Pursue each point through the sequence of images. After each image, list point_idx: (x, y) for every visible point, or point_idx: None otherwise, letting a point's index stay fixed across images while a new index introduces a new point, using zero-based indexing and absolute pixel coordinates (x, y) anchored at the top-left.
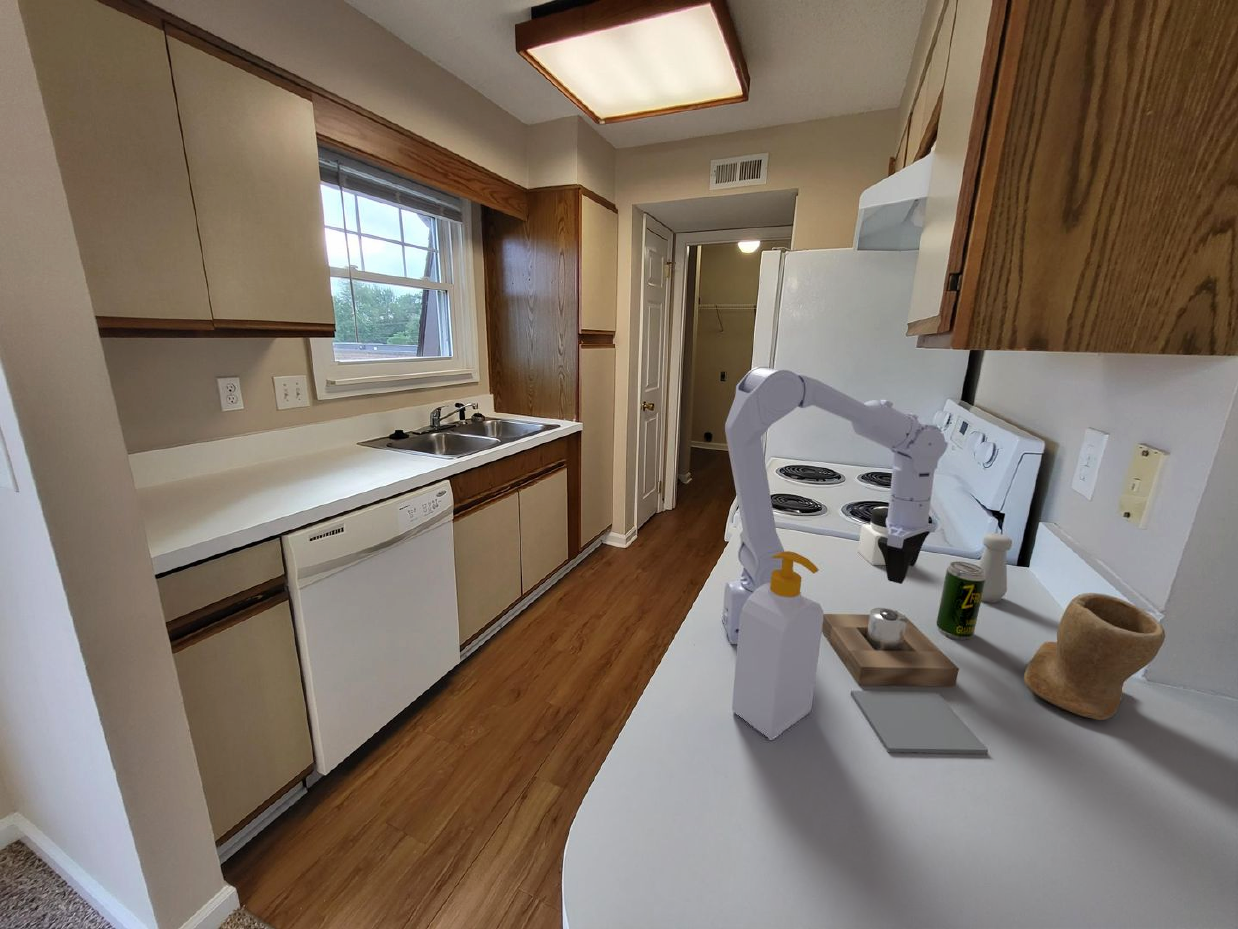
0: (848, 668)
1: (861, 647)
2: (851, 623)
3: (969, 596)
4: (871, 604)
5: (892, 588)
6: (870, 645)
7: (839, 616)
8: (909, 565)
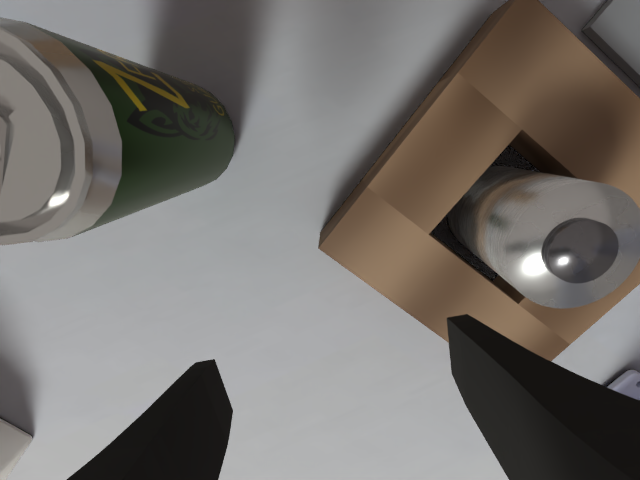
0: None
1: None
2: (505, 321)
3: (146, 82)
4: (251, 341)
5: (108, 347)
6: None
7: None
8: (219, 376)
